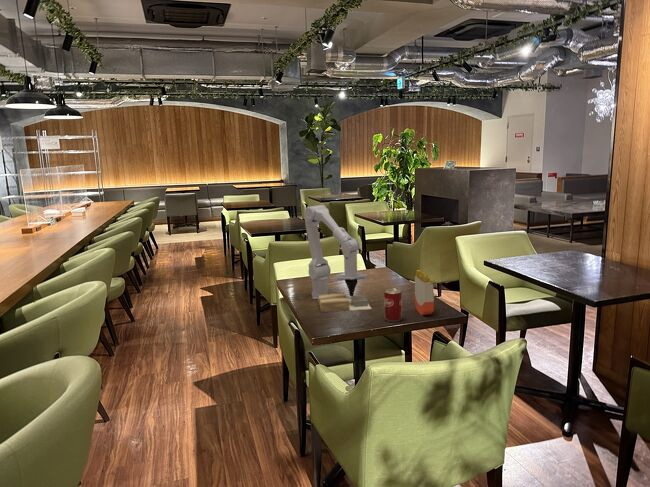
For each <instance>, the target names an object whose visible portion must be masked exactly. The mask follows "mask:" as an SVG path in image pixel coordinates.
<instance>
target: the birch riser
mask: <svg viewBox="0 0 650 487" xmlns="http://www.w3.org/2000/svg"><path fill="white" fill-rule="evenodd" d="M347 299H348V298H347V296H346V294H345V292H333V293H331V292H329V293H328V294H318V299H317V301H318V305H319V307H320V312H321V313H328V312H331V313H332V312H341V311H343V312H345V311H350V309H349V301H348V300H347Z"/></svg>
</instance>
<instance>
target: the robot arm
mask: <svg viewBox="0 0 650 487" xmlns="http://www.w3.org/2000/svg"><path fill="white" fill-rule="evenodd" d="M303 217H304V221H305V222H304V224H305V230H306V234H307V239H308V240H307V241H308V246H309V251H310V256H311V261H310V262H309V263H308V276H309V278H310V280H311V281H312V282H311V283H312V292H311V298H312V300H318V294H329V293H328V292H329V291H328V290H329V289H328V285H329V284H328V279H329V276H330V274H331V266H330V264H329V263H328V260H327V259H325V257H324V254H323V250H322V244H321V239H320V233H319V229H318V225H319V224H320V222H322V223H323V224H325V226H326V227H328V229H329V230H331V232H332V236H333V237H334V239H335V240H336V241H337V242H338V244H339V245H340V249H341V252H342V256H343V261H344V262H343V263H344V265H343V267H344V268H343V269H344V274H341V275H335V276H334V282H338V281H341V282H342V281H344V282H345V284H346V287H347V289H348V293H349V297H351V296H354V295H355V294H354V293H355V290H356V287H357V285H358V280H368V275H367V273H366V274H365V273H363V274H362V273H360V274H359V273H358V251H359V250H360V243H359V241H358V239H357V238H353V237H352V236H350V234H349V233H348V232H347V231H346V229H345V228H344V227H343V226H342V227H339V225H338V223H336V221H335V220H334V218H333V217H332V216H331V215H330V210H329V209H328V208H327V206H326V205H324V204H319V205H313V206H312V205H311V206H307V207H306V208H305V209H304V211H303Z"/></svg>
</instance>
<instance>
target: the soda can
mask: <svg viewBox="0 0 650 487" xmlns="http://www.w3.org/2000/svg"><path fill="white" fill-rule="evenodd" d="M383 311H384V312H383V318H384V320H385V321H387V322H391V323H394V322H399V321H401V320H402V318H403V292H402V290H400V289H396V288H387V289H385V290H384V291H383Z"/></svg>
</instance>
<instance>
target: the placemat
mask: <svg viewBox="0 0 650 487" xmlns="http://www.w3.org/2000/svg"><path fill="white" fill-rule="evenodd" d="M347 300H348V301H349V311H350V312H352V311H353V312H354V311H355V312H356V311H365V310H367V311H368V310H372V307H371V305H370V304H369V303H368V306H362V307H355V306H354V305H353V303H352V301H351V298H347Z"/></svg>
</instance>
